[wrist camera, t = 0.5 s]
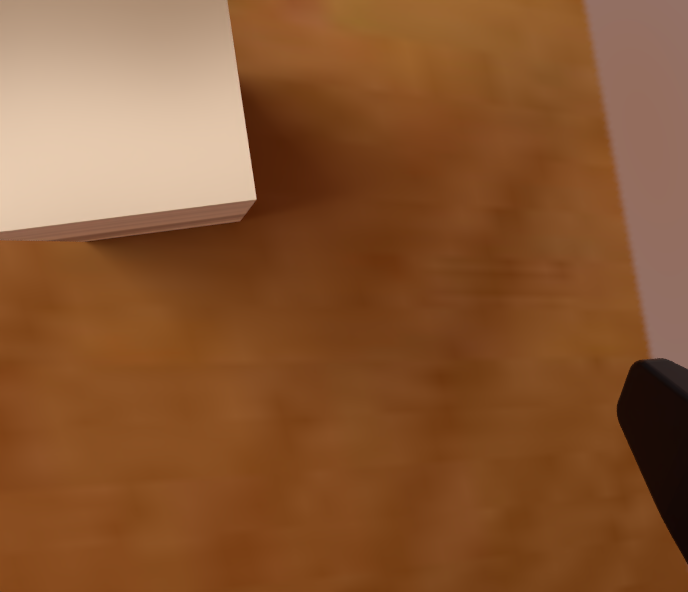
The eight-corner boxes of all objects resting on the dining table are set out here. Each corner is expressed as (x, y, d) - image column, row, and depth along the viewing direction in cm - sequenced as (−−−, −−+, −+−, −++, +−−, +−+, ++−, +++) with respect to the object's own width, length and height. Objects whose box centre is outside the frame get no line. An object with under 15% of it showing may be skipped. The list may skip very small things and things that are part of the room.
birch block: (240, 221, 22) (256, 199, 11) (85, 241, 21) (-56, 238, 10) (216, 69, 22) (211, -104, 11) (57, 84, 21) (-120, -89, 10)
